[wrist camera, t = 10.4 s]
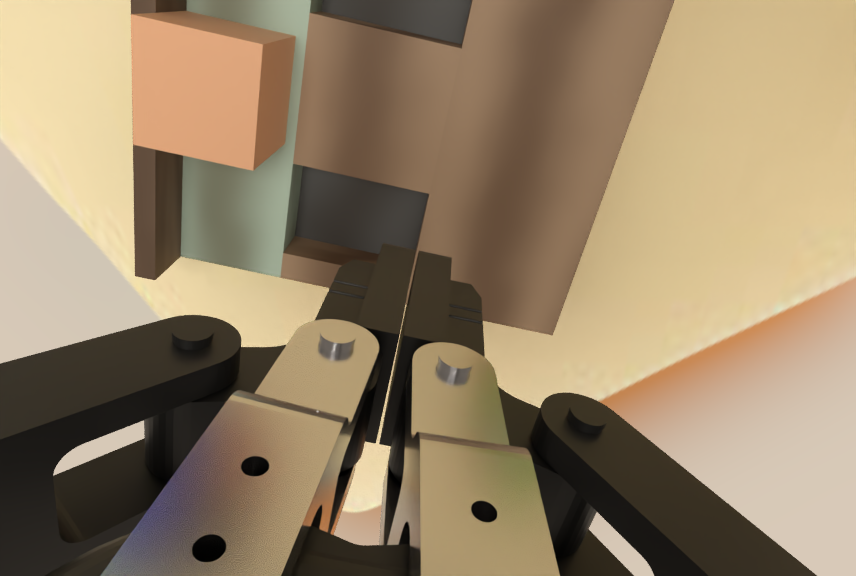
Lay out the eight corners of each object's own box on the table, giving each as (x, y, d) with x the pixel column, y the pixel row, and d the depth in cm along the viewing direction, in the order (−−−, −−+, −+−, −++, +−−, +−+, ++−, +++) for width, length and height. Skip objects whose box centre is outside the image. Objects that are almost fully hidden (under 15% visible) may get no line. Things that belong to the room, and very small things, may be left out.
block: (295, 36, 27) (262, 44, 22) (285, 143, 29) (252, 170, 25) (186, 10, 27) (130, 14, 22) (184, 121, 29) (133, 144, 24)
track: (676, -64, 27) (729, -79, 22) (545, 309, 36) (560, 365, 30) (196, -184, 26) (127, -231, 20) (185, 232, 35) (135, 275, 29)
